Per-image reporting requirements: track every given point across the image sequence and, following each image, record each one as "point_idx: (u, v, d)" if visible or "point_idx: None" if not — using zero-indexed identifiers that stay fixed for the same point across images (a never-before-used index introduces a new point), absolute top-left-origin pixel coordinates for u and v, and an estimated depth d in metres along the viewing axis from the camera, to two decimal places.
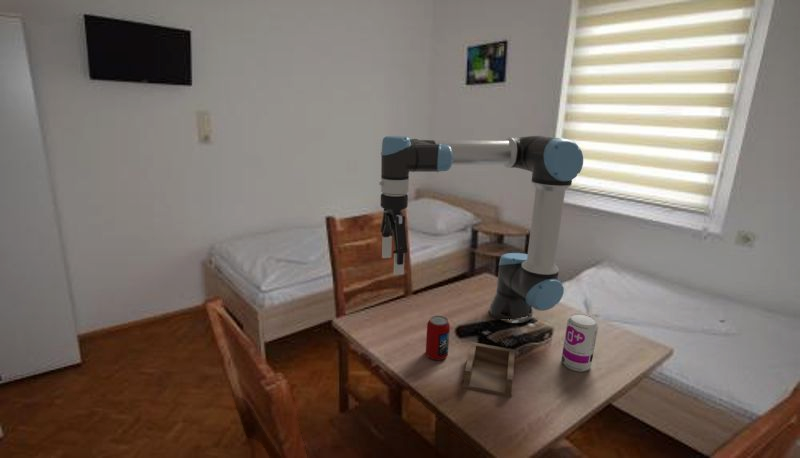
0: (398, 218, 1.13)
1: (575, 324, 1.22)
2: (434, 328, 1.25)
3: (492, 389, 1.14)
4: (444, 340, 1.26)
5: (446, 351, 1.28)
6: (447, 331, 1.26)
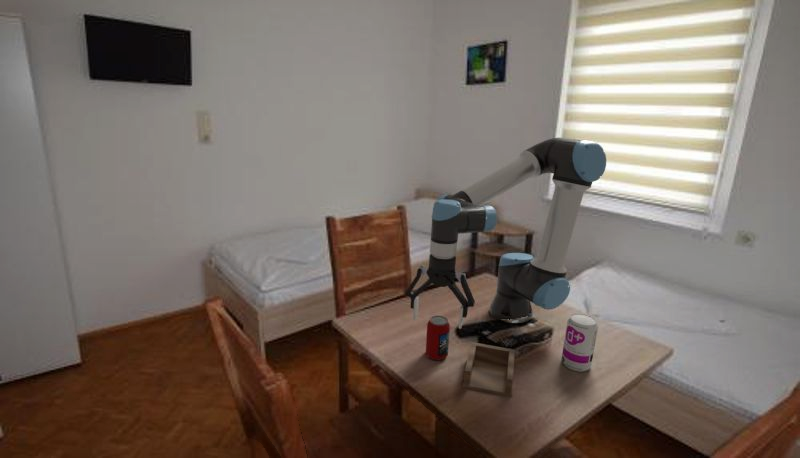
0: (419, 268, 1.25)
1: (575, 324, 1.22)
2: (434, 328, 1.25)
3: (492, 389, 1.14)
4: (444, 340, 1.26)
5: (446, 351, 1.28)
6: (447, 331, 1.26)
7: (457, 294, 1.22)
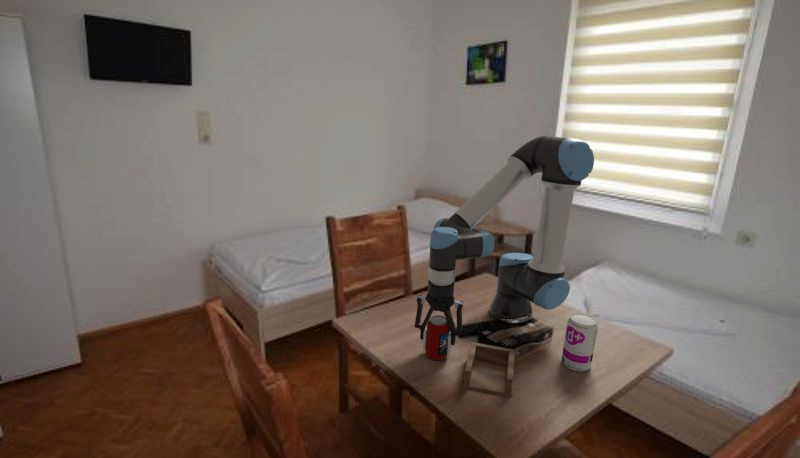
0: None
1: (575, 324, 1.22)
2: (434, 328, 1.25)
3: (492, 389, 1.14)
4: (444, 340, 1.26)
5: (446, 351, 1.28)
6: (447, 331, 1.26)
7: (449, 321, 1.25)
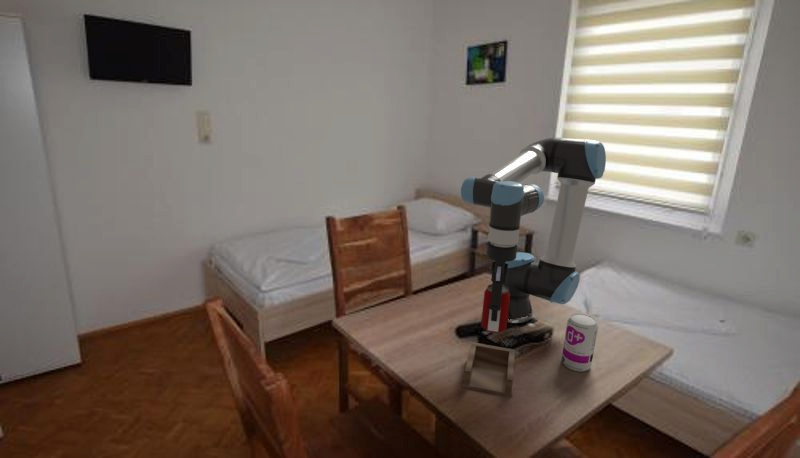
0: (495, 276, 1.05)
1: (575, 324, 1.22)
2: (509, 295, 1.12)
3: (492, 389, 1.14)
4: None
5: None
6: None
7: None
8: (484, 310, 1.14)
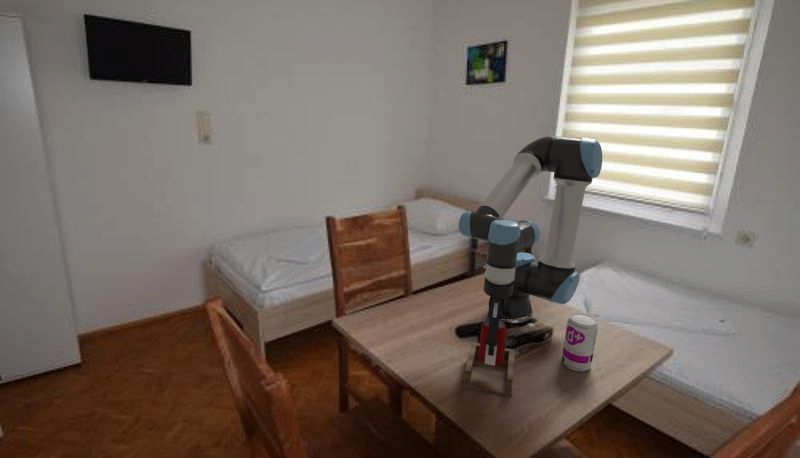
0: (492, 313, 1.08)
1: (575, 324, 1.22)
2: (505, 329, 1.15)
3: (492, 389, 1.14)
4: None
5: None
6: None
7: None
8: (481, 344, 1.16)
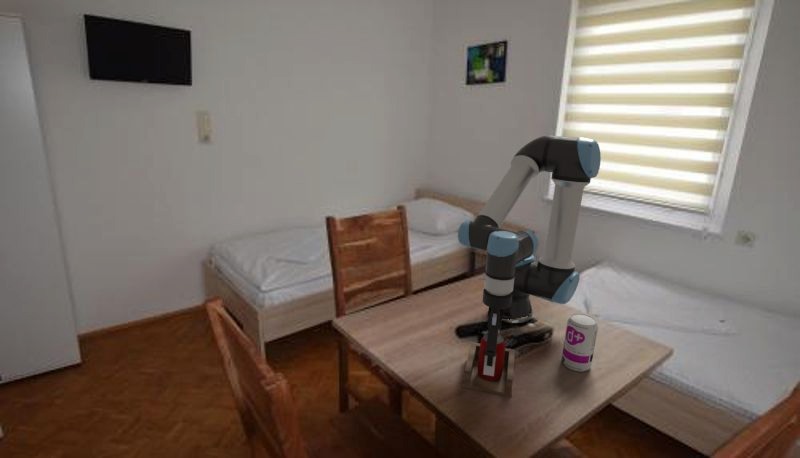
0: (492, 319, 1.08)
1: (575, 324, 1.22)
2: (504, 344, 1.16)
3: (492, 389, 1.14)
4: None
5: None
6: None
7: None
8: (480, 358, 1.18)
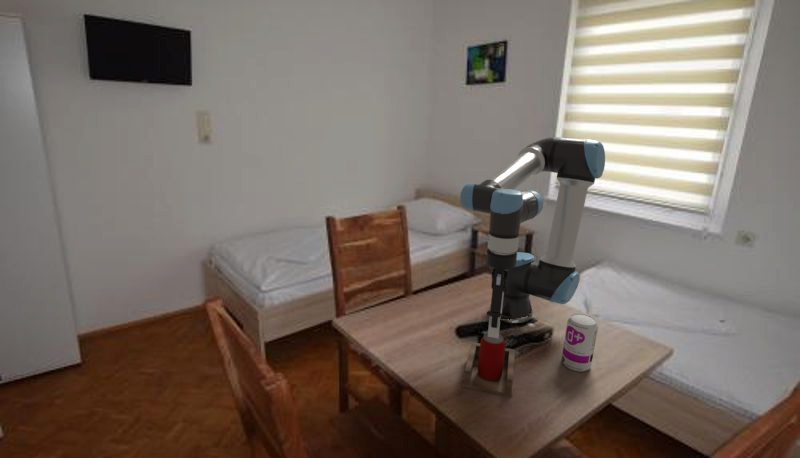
0: (496, 279, 1.05)
1: (575, 324, 1.22)
2: (504, 344, 1.16)
3: (492, 389, 1.14)
4: None
5: None
6: None
7: None
8: (480, 358, 1.18)
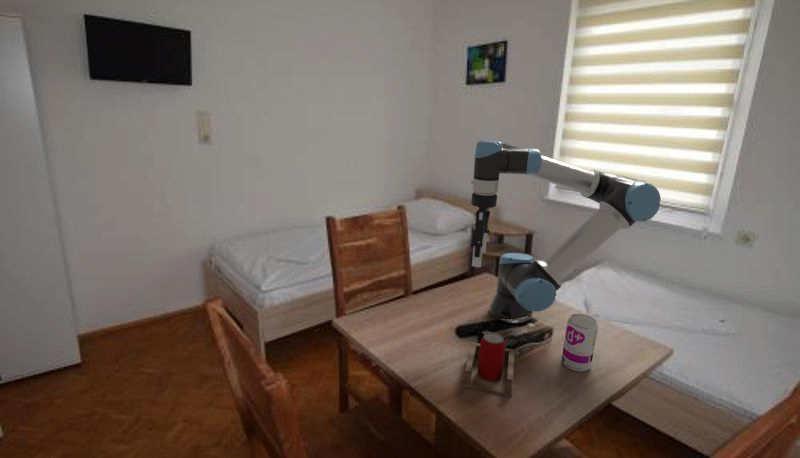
0: (479, 214, 1.25)
1: (575, 324, 1.22)
2: (504, 344, 1.16)
3: (492, 389, 1.14)
4: None
5: None
6: None
7: None
8: (480, 358, 1.18)
